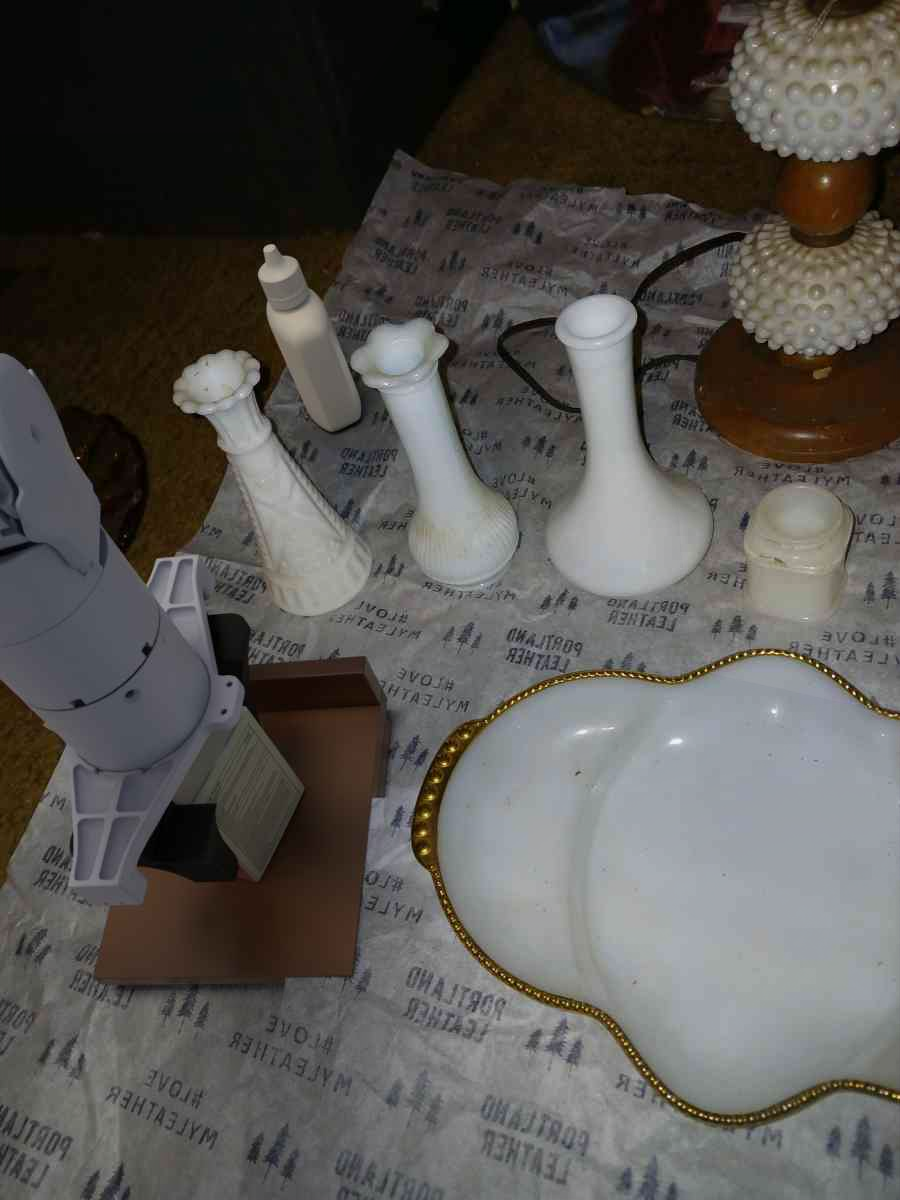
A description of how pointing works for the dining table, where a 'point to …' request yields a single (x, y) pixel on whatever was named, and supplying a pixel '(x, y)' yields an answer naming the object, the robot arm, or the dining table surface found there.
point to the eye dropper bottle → (308, 343)
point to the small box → (244, 791)
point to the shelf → (300, 862)
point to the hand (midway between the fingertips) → (229, 806)
